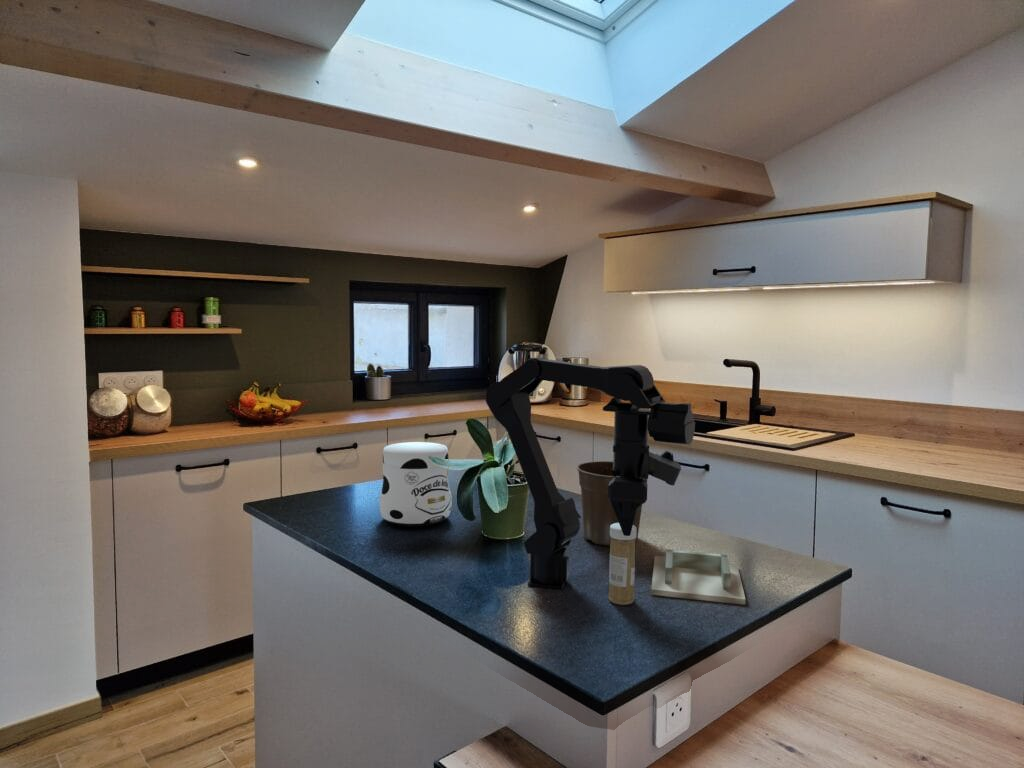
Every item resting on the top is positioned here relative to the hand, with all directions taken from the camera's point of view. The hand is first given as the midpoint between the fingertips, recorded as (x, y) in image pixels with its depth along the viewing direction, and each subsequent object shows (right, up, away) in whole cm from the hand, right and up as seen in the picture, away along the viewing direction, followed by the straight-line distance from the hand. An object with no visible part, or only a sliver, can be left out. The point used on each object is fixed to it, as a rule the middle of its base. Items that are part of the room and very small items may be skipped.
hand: (627, 527), depth 118 cm
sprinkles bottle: (-1, -13, +1) cm, 13 cm away
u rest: (+14, -12, +9) cm, 21 cm away
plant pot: (+2, -10, +35) cm, 37 cm away
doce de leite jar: (-43, -8, +46) cm, 64 cm away
